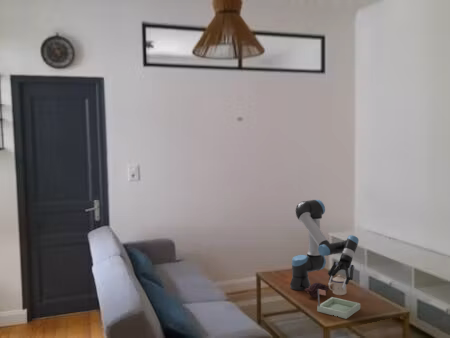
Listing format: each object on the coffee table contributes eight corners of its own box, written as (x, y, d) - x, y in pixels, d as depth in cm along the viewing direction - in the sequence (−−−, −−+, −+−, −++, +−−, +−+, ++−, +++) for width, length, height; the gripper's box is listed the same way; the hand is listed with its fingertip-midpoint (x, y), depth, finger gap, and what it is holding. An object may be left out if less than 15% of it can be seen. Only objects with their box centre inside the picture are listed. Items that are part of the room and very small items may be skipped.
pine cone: (326, 293, 314) (325, 279, 314) (332, 297, 305) (331, 283, 304) (302, 295, 311) (302, 281, 310) (308, 300, 301) (307, 286, 301)
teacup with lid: (342, 289, 288) (341, 272, 288) (349, 294, 280) (349, 276, 279) (325, 292, 285) (325, 274, 285) (332, 296, 277) (332, 278, 276)
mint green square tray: (317, 311, 282) (316, 289, 281) (332, 302, 297) (331, 281, 296) (346, 318, 269) (345, 295, 268) (360, 308, 284) (359, 286, 283)
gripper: (364, 262, 285) (354, 293, 274) (334, 257, 300) (323, 286, 289) (360, 256, 281) (350, 287, 270) (330, 251, 295) (318, 280, 284)
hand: (336, 286), depth 279 cm, fingers closed on teacup with lid, 9 cm apart
